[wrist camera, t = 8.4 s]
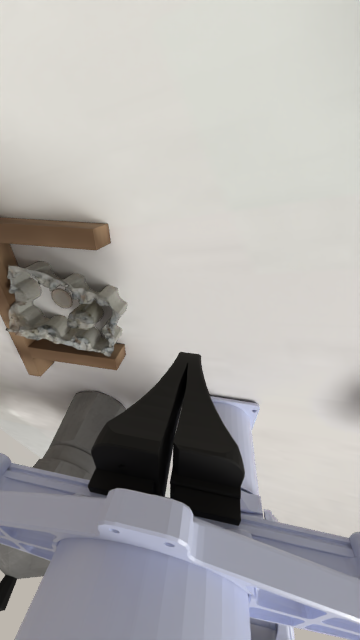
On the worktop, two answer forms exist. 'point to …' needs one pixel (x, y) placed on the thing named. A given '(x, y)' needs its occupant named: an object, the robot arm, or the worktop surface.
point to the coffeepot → (63, 458)
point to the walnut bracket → (3, 234)
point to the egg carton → (59, 328)
